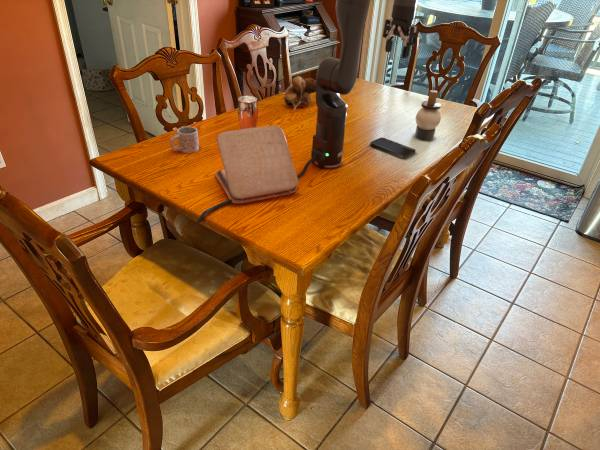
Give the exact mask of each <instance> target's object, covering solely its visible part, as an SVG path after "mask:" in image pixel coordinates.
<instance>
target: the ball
mask: <svg viewBox="0 0 600 450" xmlns="http://www.w3.org/2000/svg"><path fill="white" fill-rule="evenodd" d="M441 120H442V115H441V112H440V111H439V109H438V110H430V109H425V108H423V107H421V108H420V109H419V110H418V111H417V112H416V115H415V123H416V126H417V125H418V127H419V128H421V129H423V130H433V129H435V128H436V129H437V127H438V126H440V123H441Z"/></svg>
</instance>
